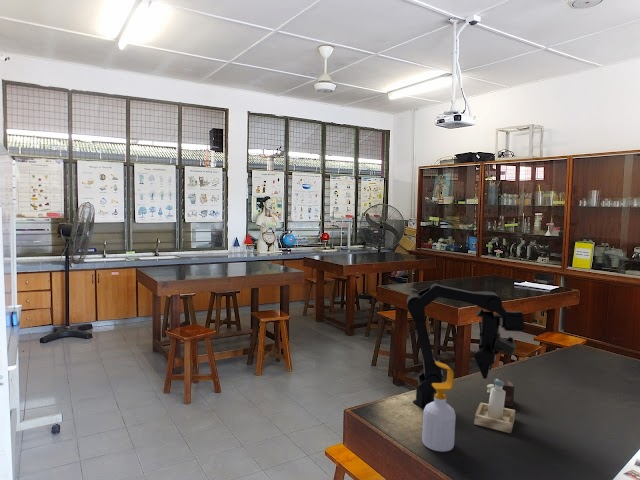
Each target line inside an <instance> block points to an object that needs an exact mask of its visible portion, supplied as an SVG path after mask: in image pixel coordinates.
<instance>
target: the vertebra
mask: <svg viewBox="0 0 640 480" xmlns="http://www.w3.org/2000/svg"><path fill="white" fill-rule="evenodd" d="M486 388H487V390H486V391H487V393H488V394H490V391H491V388H494V383H493V384H492V383H490V384H487V385H486Z"/></svg>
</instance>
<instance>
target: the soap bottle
mask: <svg viewBox="0 0 640 480" xmlns="http://www.w3.org/2000/svg"><path fill="white" fill-rule="evenodd" d="M435 363H436V364H437V365H438V366H439V367H441V369H445V370H446V372H447V373H446V381H445V382H442V383H432V386H433V387H434V389H436V391H437V393H436V394H435V396H434V402H431V403H429V404H427V405H426V406H425V408H424V409H423V414H422V415H423V416H422V417H423V418H422V435H421V441H422V445H424V446H425V447H426V448H428V449H430V450H432V451H434V452H442V453H443V452H449V451H452V450H453V449H454V446H455V437H456V436H455V435H456V434H455V433H456V432H455V430H456V417H457V416H456V412H455V411H456V410H455V409H454V408H453V407H452V406H451V405H450V404H448V402H447V395H446V394H444V393H445V392H446V391H450V390H452V389H453V387H454V374H455V372H454V370H452V368H451V367H450V366H449V365H447V363H443V362H441V361H440V362H437V360H435Z"/></svg>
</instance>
